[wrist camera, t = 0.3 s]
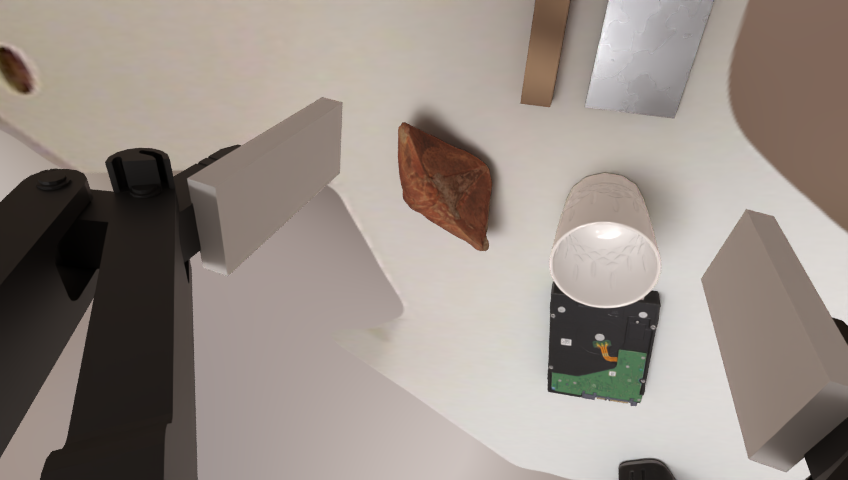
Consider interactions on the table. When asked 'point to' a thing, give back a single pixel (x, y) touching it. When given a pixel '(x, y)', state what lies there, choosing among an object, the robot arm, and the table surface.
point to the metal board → (646, 55)
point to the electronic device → (644, 471)
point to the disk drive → (601, 348)
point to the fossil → (445, 185)
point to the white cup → (605, 244)
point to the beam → (544, 51)
